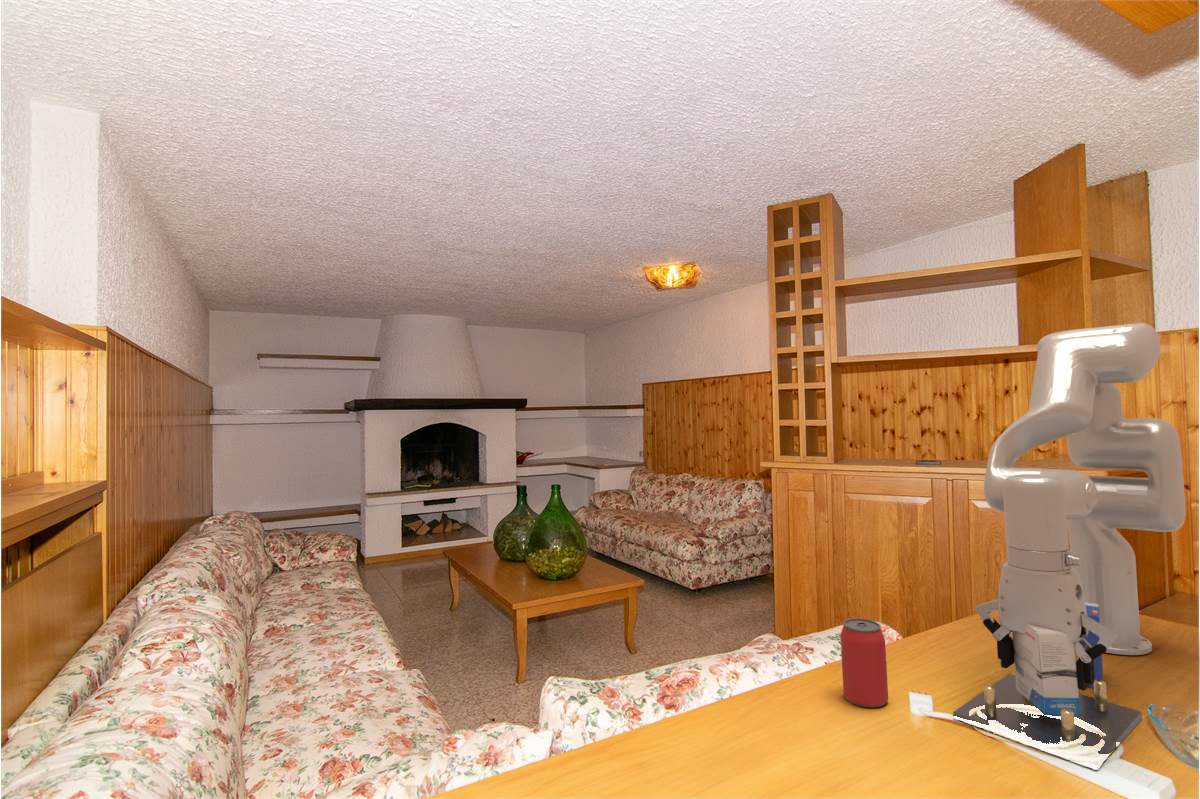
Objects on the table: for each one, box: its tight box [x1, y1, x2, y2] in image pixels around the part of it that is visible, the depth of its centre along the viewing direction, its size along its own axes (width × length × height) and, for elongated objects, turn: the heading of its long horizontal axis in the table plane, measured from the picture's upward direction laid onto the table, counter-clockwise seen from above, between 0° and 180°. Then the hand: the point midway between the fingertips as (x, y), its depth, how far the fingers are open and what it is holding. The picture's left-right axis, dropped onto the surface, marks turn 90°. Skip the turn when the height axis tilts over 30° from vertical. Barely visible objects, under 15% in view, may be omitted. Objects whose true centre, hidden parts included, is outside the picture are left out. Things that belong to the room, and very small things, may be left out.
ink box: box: [1011, 624, 1081, 716], centre depth 89 cm, size 9×5×12 cm, turn 168°
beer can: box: [840, 617, 889, 708], centre depth 96 cm, size 7×7×12 cm
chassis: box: [952, 673, 1143, 754], centre depth 88 cm, size 20×17×5 cm
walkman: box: [1084, 602, 1104, 689], centre depth 100 cm, size 8×3×12 cm, turn 141°
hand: (1044, 675), depth 89 cm, fingers closed on ink box, 9 cm apart
